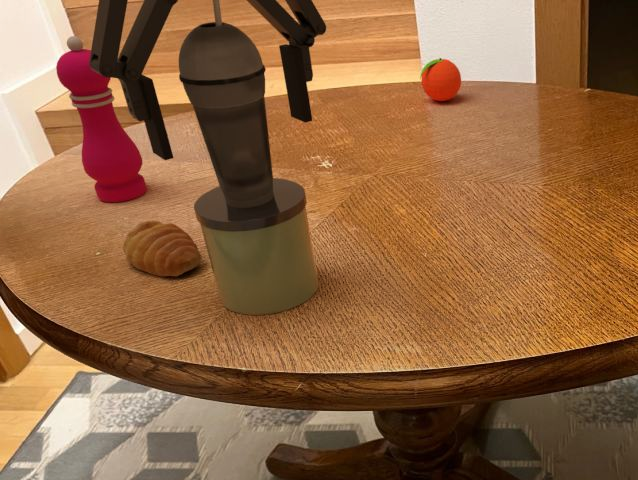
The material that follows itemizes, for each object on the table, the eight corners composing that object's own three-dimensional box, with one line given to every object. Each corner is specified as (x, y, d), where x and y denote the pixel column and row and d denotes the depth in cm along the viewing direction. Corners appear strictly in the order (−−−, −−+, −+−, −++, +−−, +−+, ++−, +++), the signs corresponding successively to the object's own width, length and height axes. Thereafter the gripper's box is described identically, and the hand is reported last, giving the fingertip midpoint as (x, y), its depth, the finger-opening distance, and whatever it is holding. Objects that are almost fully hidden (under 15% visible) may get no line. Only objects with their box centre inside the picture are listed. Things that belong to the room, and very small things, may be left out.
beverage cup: (239, 180, 73) (189, -43, 62) (302, 187, 71) (262, -43, 60) (194, 209, 68) (131, -30, 57) (262, 217, 66) (210, -30, 54)
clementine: (434, 110, 124) (431, 66, 120) (410, 102, 128) (406, 60, 124) (470, 100, 128) (468, 57, 124) (445, 92, 132) (443, 51, 128)
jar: (201, 288, 76) (176, 198, 70) (289, 256, 81) (272, 169, 76) (246, 328, 69) (223, 232, 64) (339, 289, 75) (325, 197, 69)
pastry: (219, 263, 80) (211, 232, 78) (164, 288, 76) (153, 256, 74) (174, 241, 86) (164, 210, 84) (120, 263, 82) (109, 232, 80)
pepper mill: (83, 203, 96) (26, 43, 85) (113, 182, 102) (64, 30, 91) (132, 205, 95) (81, 43, 84) (160, 184, 101) (116, 29, 90)
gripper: (5, -139, 45) (111, 185, 57) (344, -154, 58) (373, 113, 70) (-22, -137, 50) (81, 161, 62) (297, -152, 63) (331, 98, 75)
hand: (236, 136), depth 66 cm, fingers open, 13 cm apart
